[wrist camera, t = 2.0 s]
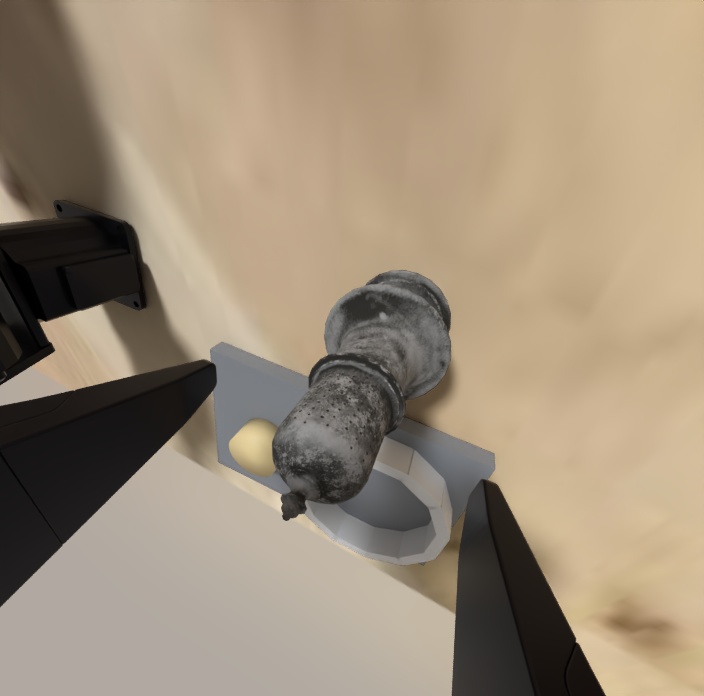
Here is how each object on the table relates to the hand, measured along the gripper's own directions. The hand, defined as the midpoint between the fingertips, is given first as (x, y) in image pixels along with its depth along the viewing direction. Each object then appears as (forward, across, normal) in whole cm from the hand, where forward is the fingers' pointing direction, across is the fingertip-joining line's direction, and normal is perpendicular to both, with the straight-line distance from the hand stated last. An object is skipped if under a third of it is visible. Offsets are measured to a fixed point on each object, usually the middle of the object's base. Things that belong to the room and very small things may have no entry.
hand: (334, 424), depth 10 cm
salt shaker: (+9, 0, 0) cm, 9 cm away
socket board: (+9, +2, +13) cm, 16 cm away
